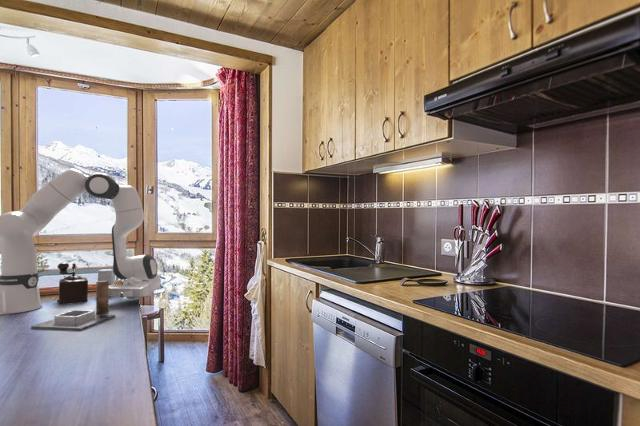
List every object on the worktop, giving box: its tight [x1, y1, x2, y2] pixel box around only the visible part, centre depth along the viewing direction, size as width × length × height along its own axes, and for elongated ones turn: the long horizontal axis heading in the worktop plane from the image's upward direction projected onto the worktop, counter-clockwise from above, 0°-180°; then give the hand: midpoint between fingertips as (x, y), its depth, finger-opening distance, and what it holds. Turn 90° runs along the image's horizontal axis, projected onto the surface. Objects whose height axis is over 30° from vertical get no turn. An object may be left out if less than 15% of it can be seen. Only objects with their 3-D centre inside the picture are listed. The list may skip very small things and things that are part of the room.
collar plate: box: [30, 309, 116, 332], centre depth 126 cm, size 18×16×3 cm
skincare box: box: [97, 268, 116, 285], centre depth 171 cm, size 6×4×12 cm
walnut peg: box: [95, 280, 110, 315], centre depth 139 cm, size 4×4×12 cm
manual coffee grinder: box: [56, 261, 89, 305], centre depth 157 cm, size 16×11×18 cm
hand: (111, 294), depth 144 cm, fingers open, 8 cm apart
